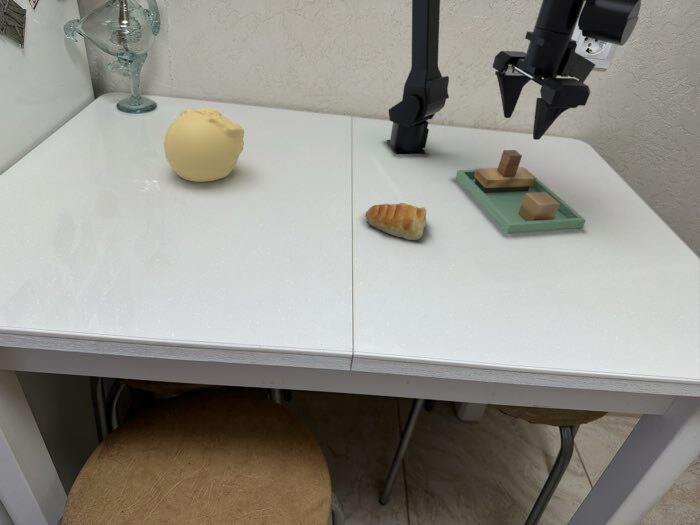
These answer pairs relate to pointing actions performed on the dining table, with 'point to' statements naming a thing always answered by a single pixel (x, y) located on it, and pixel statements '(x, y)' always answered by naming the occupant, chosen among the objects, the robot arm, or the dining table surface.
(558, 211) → the tray
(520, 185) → the wooden stamp
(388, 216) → the pastry
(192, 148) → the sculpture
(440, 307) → the dining table surface
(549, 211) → the wooden cube
